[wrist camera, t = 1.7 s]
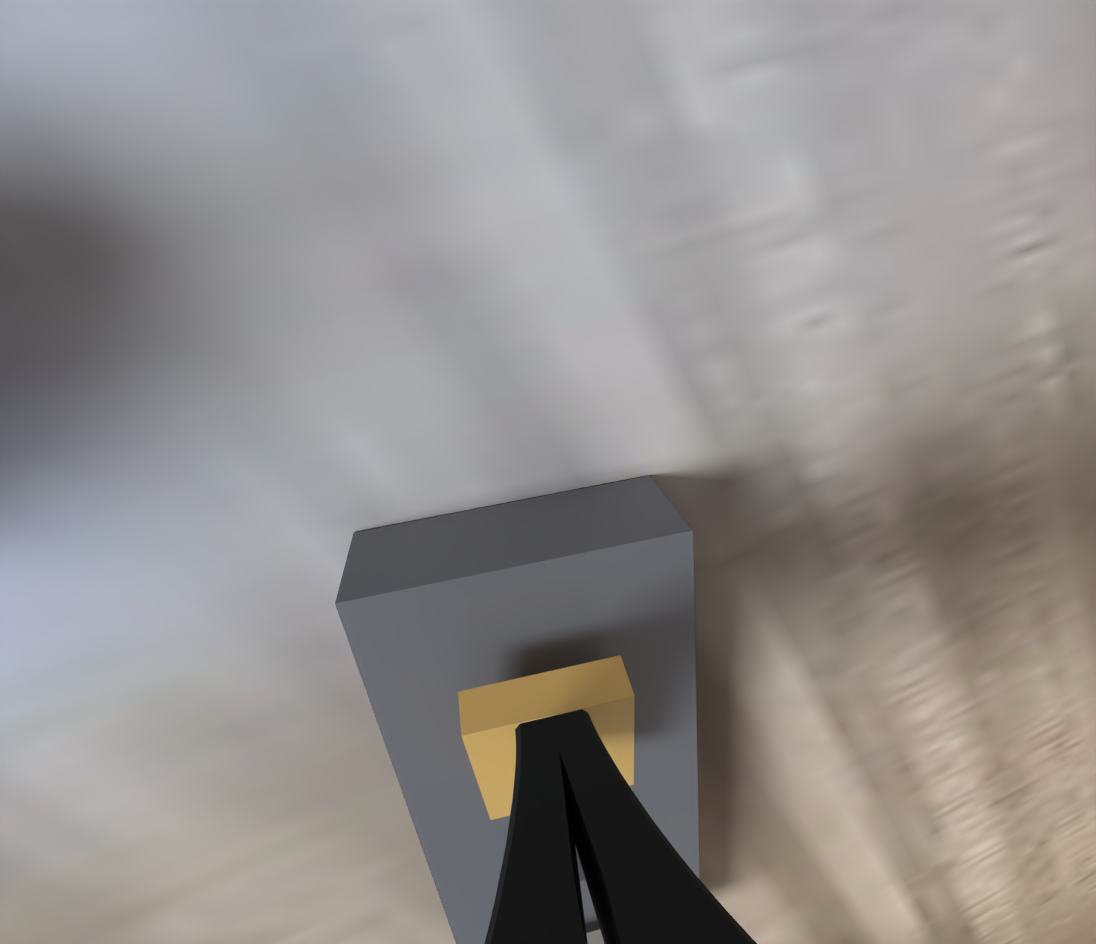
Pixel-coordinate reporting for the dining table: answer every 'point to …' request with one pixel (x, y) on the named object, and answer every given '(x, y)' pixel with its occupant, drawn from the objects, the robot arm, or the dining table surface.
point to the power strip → (524, 656)
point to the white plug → (595, 937)
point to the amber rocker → (539, 696)
